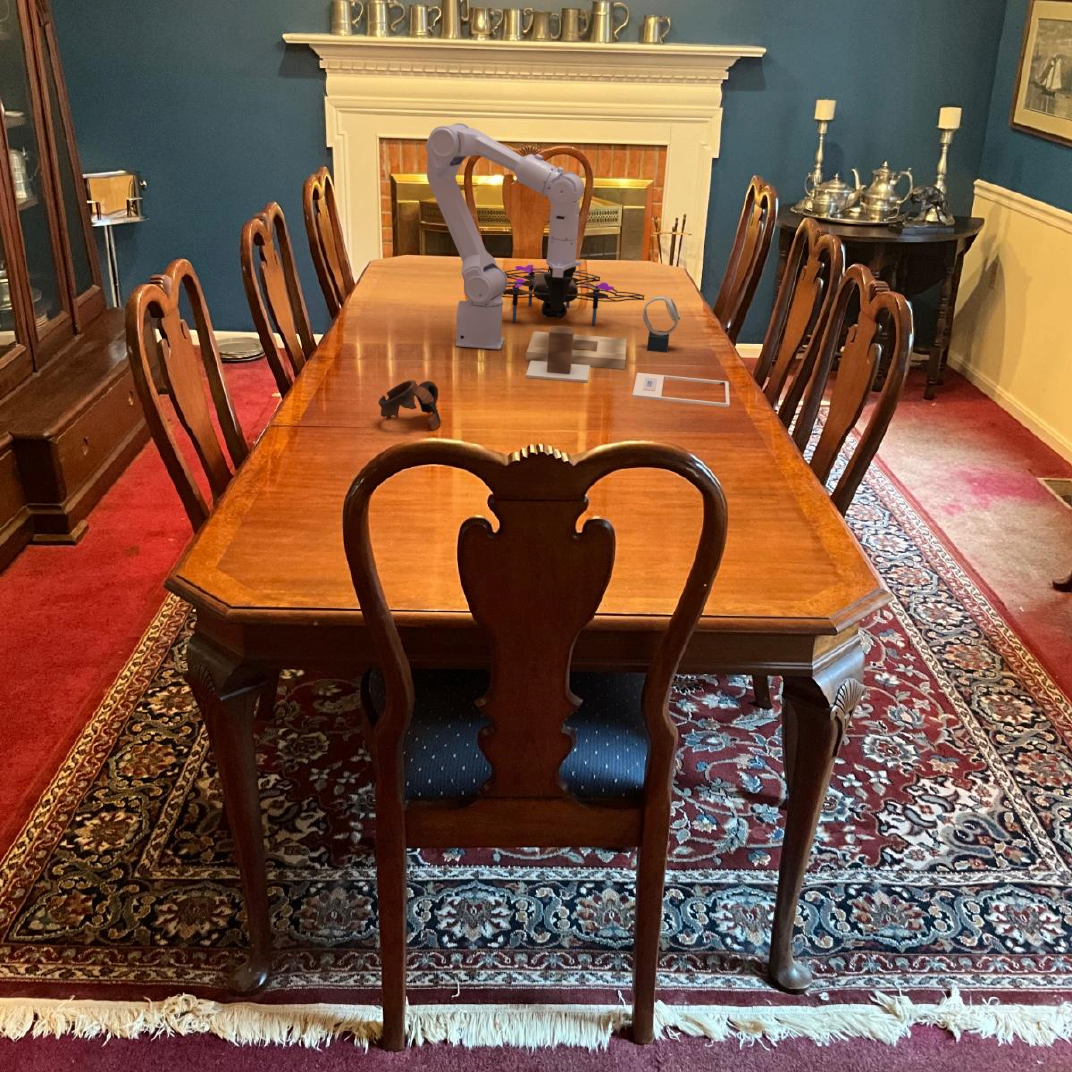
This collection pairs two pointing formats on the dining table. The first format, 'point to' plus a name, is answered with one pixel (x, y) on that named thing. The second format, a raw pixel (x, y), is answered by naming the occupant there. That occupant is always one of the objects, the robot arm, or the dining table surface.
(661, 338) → the watch
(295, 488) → the dining table surface
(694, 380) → the photo frame
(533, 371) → the felt pad
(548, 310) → the drone
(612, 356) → the pocket board
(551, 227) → the robot arm
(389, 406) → the brown curved piece
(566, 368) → the block
